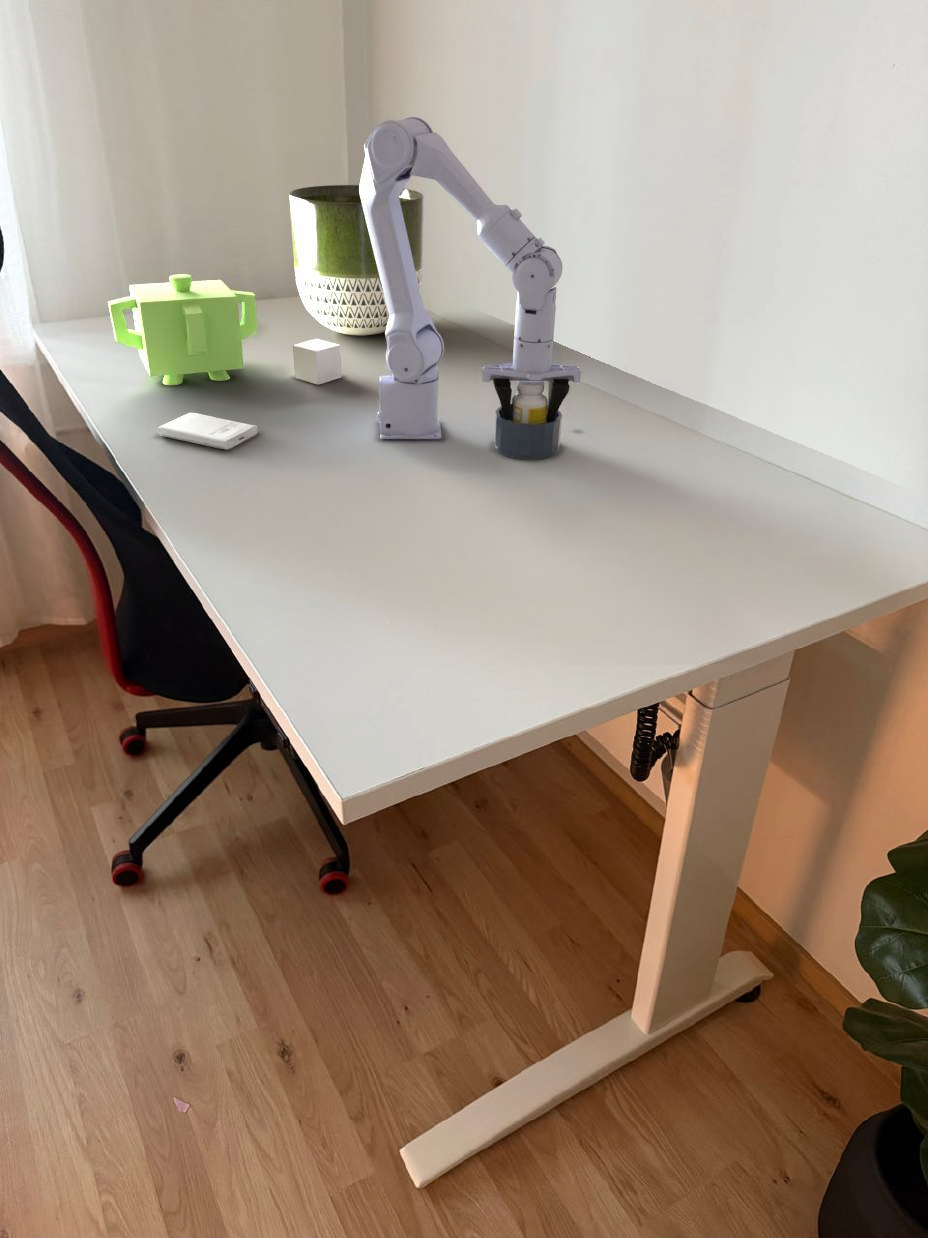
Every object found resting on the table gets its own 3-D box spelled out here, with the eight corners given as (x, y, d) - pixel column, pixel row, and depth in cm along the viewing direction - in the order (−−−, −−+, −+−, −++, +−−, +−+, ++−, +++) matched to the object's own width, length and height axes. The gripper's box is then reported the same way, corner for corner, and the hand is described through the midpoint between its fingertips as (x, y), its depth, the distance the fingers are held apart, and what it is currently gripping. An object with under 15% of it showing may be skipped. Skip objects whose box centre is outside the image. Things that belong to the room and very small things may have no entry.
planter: (419, 350, 191) (420, 205, 176) (287, 345, 190) (277, 200, 176) (426, 317, 213) (426, 186, 199) (308, 313, 213) (300, 182, 199)
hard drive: (193, 421, 152) (257, 434, 148) (159, 437, 146) (225, 451, 141) (192, 411, 151) (257, 424, 147) (157, 426, 145) (224, 440, 140)
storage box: (129, 399, 160) (112, 294, 151) (114, 362, 178) (98, 266, 169) (274, 384, 169) (267, 285, 160) (246, 351, 186) (238, 259, 178)
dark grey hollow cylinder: (497, 459, 141) (499, 424, 138) (491, 435, 150) (492, 402, 147) (563, 459, 142) (566, 424, 139) (553, 435, 151) (556, 402, 148)
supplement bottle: (548, 440, 147) (553, 378, 142) (539, 452, 143) (544, 388, 138) (515, 435, 149) (518, 373, 143) (505, 447, 144) (508, 384, 139)
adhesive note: (318, 370, 177) (316, 338, 174) (341, 377, 174) (340, 344, 171) (294, 377, 173) (292, 344, 170) (318, 384, 170) (316, 351, 167)
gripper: (486, 344, 133) (482, 436, 140) (588, 345, 134) (579, 436, 141) (482, 331, 139) (478, 420, 146) (579, 332, 140) (571, 420, 147)
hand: (527, 427), depth 144 cm, fingers open, 6 cm apart
